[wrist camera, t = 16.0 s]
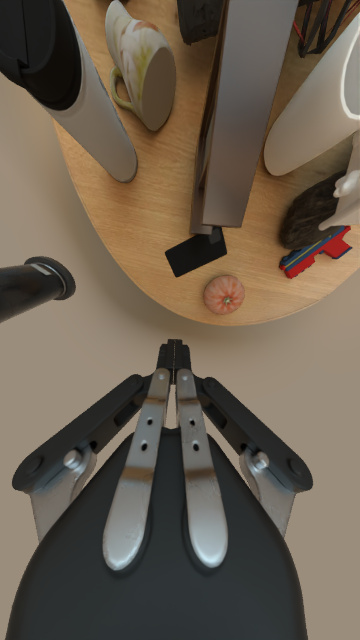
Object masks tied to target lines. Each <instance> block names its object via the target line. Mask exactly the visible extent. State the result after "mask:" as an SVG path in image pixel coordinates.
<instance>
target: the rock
mask: <svg viewBox="0 0 360 640" xmlns="http://www.w3.org/2000/svg"><path fill="white" fill-rule="evenodd" d="M346 172H347V170H344V171H341V172H338V173H335V174H333V175H332V176H331V177H329V178H328V179H326V180H324V181H321V182H319V183H317V184H316V185H314V186H312V187H310V188H309V189H307V190H305V191H304V192H303V193H302V194H301V195H300V196H298V197H297V198H296V199H295V200H294V202H293V205H292V206H291V207H290V208H289V211H288V213H287V216H286V218H285V221H284V227H283V229H282V232H281V236H280V238H281V242H282V244H283V245H284V247H285V248H287V249H291V250H292V249H294V250H299V249H303V248H304V247H307V246H310V245H313V244H315V243H317V242H319V241H321V240H323V239H325V238H327V237H330V236H331V235H333V234H334V233H336V232H337V231H338V230H339V229H340V228H341V226H342V225H338V226H330V227H328V228H326V229H325V230H319V225H320V224H321V223H323V222H324V221H326V220H327V219H328V218H330V217H331V216H333V215H334V214H335V213H336V209H337V205H338V202H339V198H340V197H334V196H333V193H334V192H335V190H336V187H335V183H336V182H337V181H338V180H339V179H340V178H342V177H344V176H346Z"/></svg>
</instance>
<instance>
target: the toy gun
mask: <svg viewBox="0 0 360 640" xmlns="http://www.w3.org/2000/svg"><path fill="white" fill-rule="evenodd" d="M349 230H351V228H350V226H344V225H342V226H341V228H340V229H339V230H338V231H337V232H336V233H334V234H333V235H331V236H330V237H327V238H325V239H323V240H321V241H319V242H317V243H315V244H313V245H310V246H307V247H304V248H303V249H299V250H295V251H293V252H291V254H290V255H289V256H285V257H284V258H283V260H282V261H281V262H280V264H281V266H279V267H280V269H281V270H284V271H285V273H286V275H287V277H288V278H290V279H292V278H293V277H296V276H297V275H298V274H299V273H300V272H303V271H304V270H305V269H306V268H307V267H308V268H309V267H310V266H311V265H312V264H313V263H314V262H315V260H314V256H315V255H317V254H318V253H319V254H322V253H323V252H324V253H325V254H327V255H328V256H330V257H332V259H339V258H340V257H341V256H343V255H344V254H345V253H347V252H348V251H349V250H350V249H352V247H350V246H349V245H348V244H347V243H345V242H344V241H343V240H342V238H343V236H344V235H345V233H347V232H348V231H349Z"/></svg>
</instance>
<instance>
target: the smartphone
mask: <svg viewBox="0 0 360 640" xmlns="http://www.w3.org/2000/svg"><path fill="white" fill-rule="evenodd" d="M226 254H227V249H226V245H225V241H224V236H223V232H222V227H216V226H213V228H212V234H211V235H207V236H205V235H196V236H194V237H192V238H190V239H188V240H186V241H184V242H182V243H181V244H179V245H177V246H175V247H173V248H171V249H169V250H167V251H166V252H165V255H166V257H167V259H168V262H169V264H170V266H171V268H172V270H173V273H174V275H175V277H179V276H181V275H183V274H185V273H187V272H190V271H192V270H194V269H196V268H198V267H200V266H203V265H205V264H207V263H209V262H211V261H213V260H215V259H218V258H220V257H222V256H224V255H226Z"/></svg>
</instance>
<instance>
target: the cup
mask: <svg viewBox="0 0 360 640" xmlns="http://www.w3.org/2000/svg"><path fill="white" fill-rule="evenodd" d="M359 129H360V12H359V13H358V15H357V16H356V17H355V18H354V19H353V20H352V22H351V23H350V24H349V25H348V26H347V28H346V29H345V30H344V31H343V32H342V34H341V35H340V36H339V37H338V39H337V40H336V41H335V42H334V43H333V45H332V46H331V47H330V48H329V50H328V51H327V52H326V53H325V55H324V56H323V57H322V59H321V60H320V61H319V62H318V64H317V65H316V66H315V68H314V69H313V70H312V72H311V73H310V74H309V76H308V77H307V78H306V80H305V81H304V82H303V84H302V85H301V86H300V88H299V89H298V90H297V92H296V93H295V94H294V96H293V97H292V99H291V100H290V101H289V103H288V104H287V106H286V107H285V108H284V110H283V111H282V113H281V114H280V115H279V117H278V118H277V120H276V121H275V123H274V124H273V126H272V128H271V130H270V132H269V134H268V137H267V140H266V143H265V148H264V161H265V166H266V168H267V170H268V171H269V172H270V173H271V174H272V175H275V176H281V175H284V174H286V173H289V172H291V171H293V170H295V169H296V168H298V167H300V166H302V165H304V164H306V163H307V162H309V161H311V160H312V159H314V158H316V157H318V156H319V155H321V154H322V153H324V152H326V151H327V150H329V149H331V148H332V147H333V146H335V145H336V144H338V143H339V142H341V141H342V140H344V139H345V138H347V137H348V136H350V135H351V134H353V133H354V132H356V131H357V130H359Z"/></svg>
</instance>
